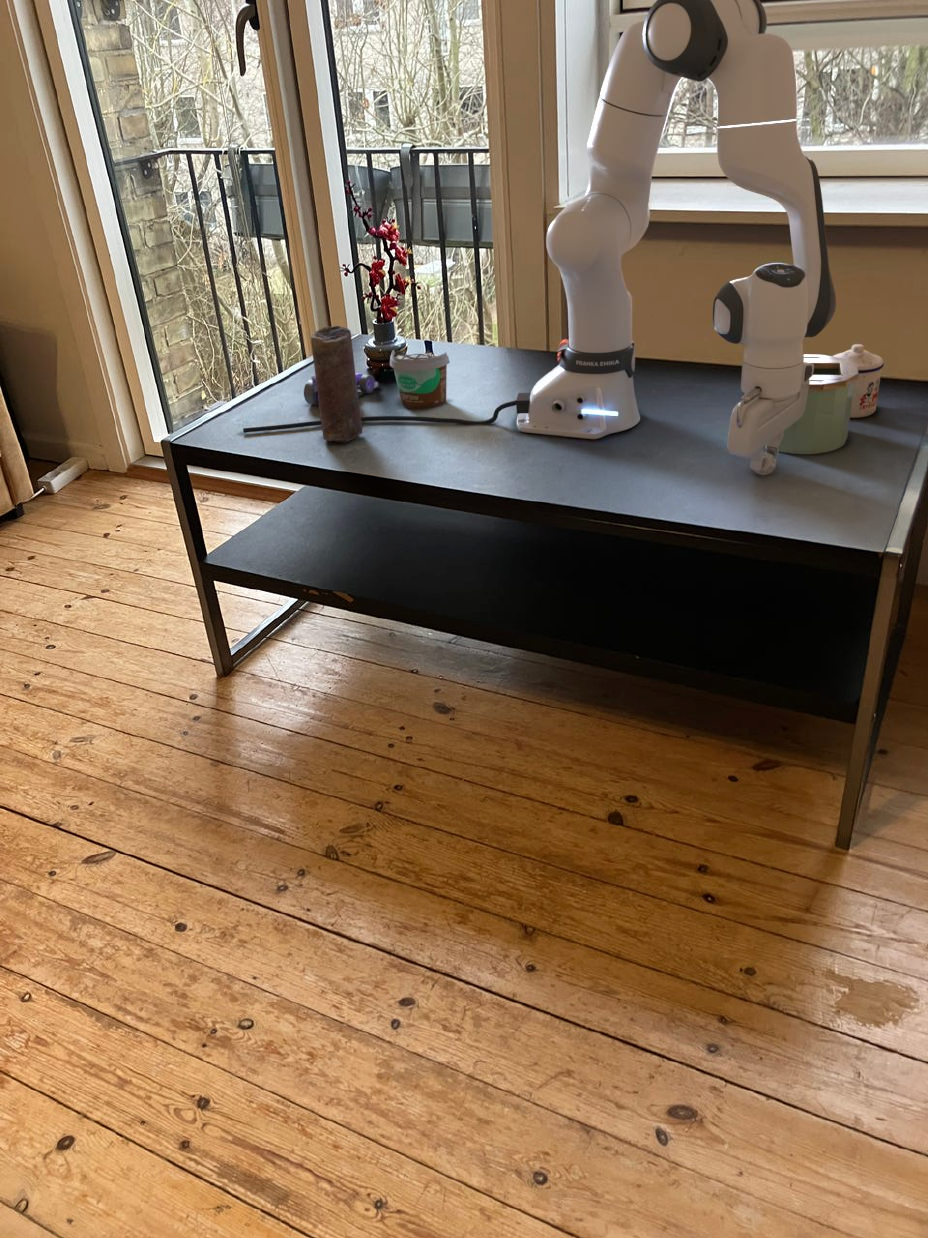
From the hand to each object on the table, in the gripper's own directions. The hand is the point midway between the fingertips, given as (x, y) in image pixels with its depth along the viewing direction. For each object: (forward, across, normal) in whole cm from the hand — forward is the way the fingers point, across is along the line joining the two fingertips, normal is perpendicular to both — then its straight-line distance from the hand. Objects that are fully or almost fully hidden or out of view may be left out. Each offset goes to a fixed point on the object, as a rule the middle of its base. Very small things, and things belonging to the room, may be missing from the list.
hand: (764, 463), depth 160 cm
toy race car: (+2, -7, +88) cm, 89 cm away
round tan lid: (-9, +16, +1) cm, 19 cm away
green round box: (+2, +16, +1) cm, 16 cm away
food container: (+2, -3, +71) cm, 71 cm away
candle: (+2, -24, +72) cm, 76 cm away
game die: (+2, 0, 0) cm, 2 cm away
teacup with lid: (+2, +34, -1) cm, 34 cm away
